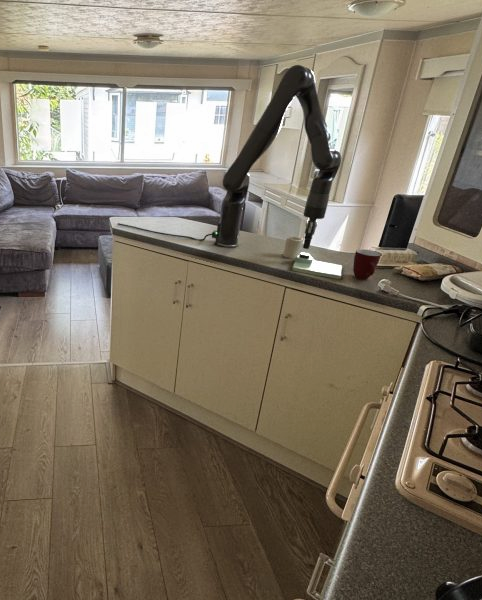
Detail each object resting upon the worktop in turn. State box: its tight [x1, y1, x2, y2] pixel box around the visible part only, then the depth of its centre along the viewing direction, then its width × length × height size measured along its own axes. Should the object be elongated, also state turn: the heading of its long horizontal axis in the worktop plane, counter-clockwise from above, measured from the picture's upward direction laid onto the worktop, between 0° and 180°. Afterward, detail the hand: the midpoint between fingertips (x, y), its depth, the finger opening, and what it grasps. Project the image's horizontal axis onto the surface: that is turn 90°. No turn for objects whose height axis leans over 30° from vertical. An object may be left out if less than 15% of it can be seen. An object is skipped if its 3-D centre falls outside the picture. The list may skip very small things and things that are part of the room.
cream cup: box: [282, 235, 304, 260], centre depth 181 cm, size 6×6×8 cm
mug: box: [352, 248, 382, 281], centre depth 158 cm, size 11×8×10 cm
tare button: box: [299, 252, 311, 259], centre depth 172 cm, size 4×4×2 cm
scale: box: [291, 254, 343, 280], centre depth 168 cm, size 17×14×3 cm
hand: (305, 248), depth 171 cm, fingers closed
